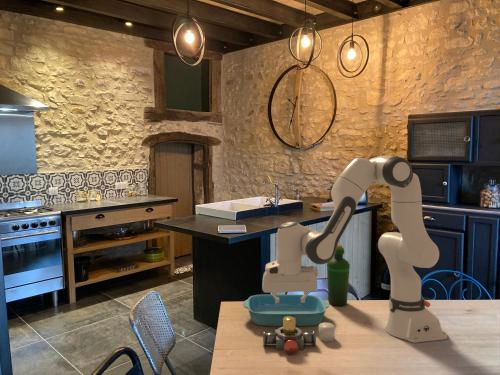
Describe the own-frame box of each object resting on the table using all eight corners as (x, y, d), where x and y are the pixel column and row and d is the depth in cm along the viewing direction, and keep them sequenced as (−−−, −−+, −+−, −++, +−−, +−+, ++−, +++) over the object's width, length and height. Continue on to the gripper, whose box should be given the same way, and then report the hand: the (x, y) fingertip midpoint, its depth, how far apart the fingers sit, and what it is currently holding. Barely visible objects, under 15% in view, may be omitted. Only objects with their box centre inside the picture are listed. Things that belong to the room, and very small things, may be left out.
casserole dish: (323, 307, 184) (323, 292, 184) (333, 329, 162) (334, 312, 161) (243, 308, 184) (243, 293, 183) (243, 330, 162) (243, 313, 161)
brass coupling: (294, 331, 151) (294, 316, 150) (296, 337, 146) (296, 321, 146) (282, 331, 151) (282, 316, 150) (283, 337, 146) (283, 321, 146)
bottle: (352, 301, 190) (353, 244, 188) (344, 309, 182) (345, 249, 179) (331, 297, 196) (331, 241, 194) (322, 304, 187) (323, 246, 185)
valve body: (312, 338, 153) (312, 325, 153) (318, 355, 141) (318, 340, 141) (262, 339, 153) (262, 326, 153) (264, 355, 141) (264, 341, 141)
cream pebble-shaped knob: (332, 334, 157) (332, 322, 157) (336, 342, 151) (336, 329, 151) (317, 334, 157) (317, 322, 157) (320, 342, 151) (320, 329, 151)
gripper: (316, 262, 149) (316, 298, 151) (261, 264, 149) (262, 300, 151) (319, 268, 143) (319, 305, 145) (262, 269, 143) (263, 306, 145)
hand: (290, 302), depth 148 cm, fingers open, 8 cm apart
